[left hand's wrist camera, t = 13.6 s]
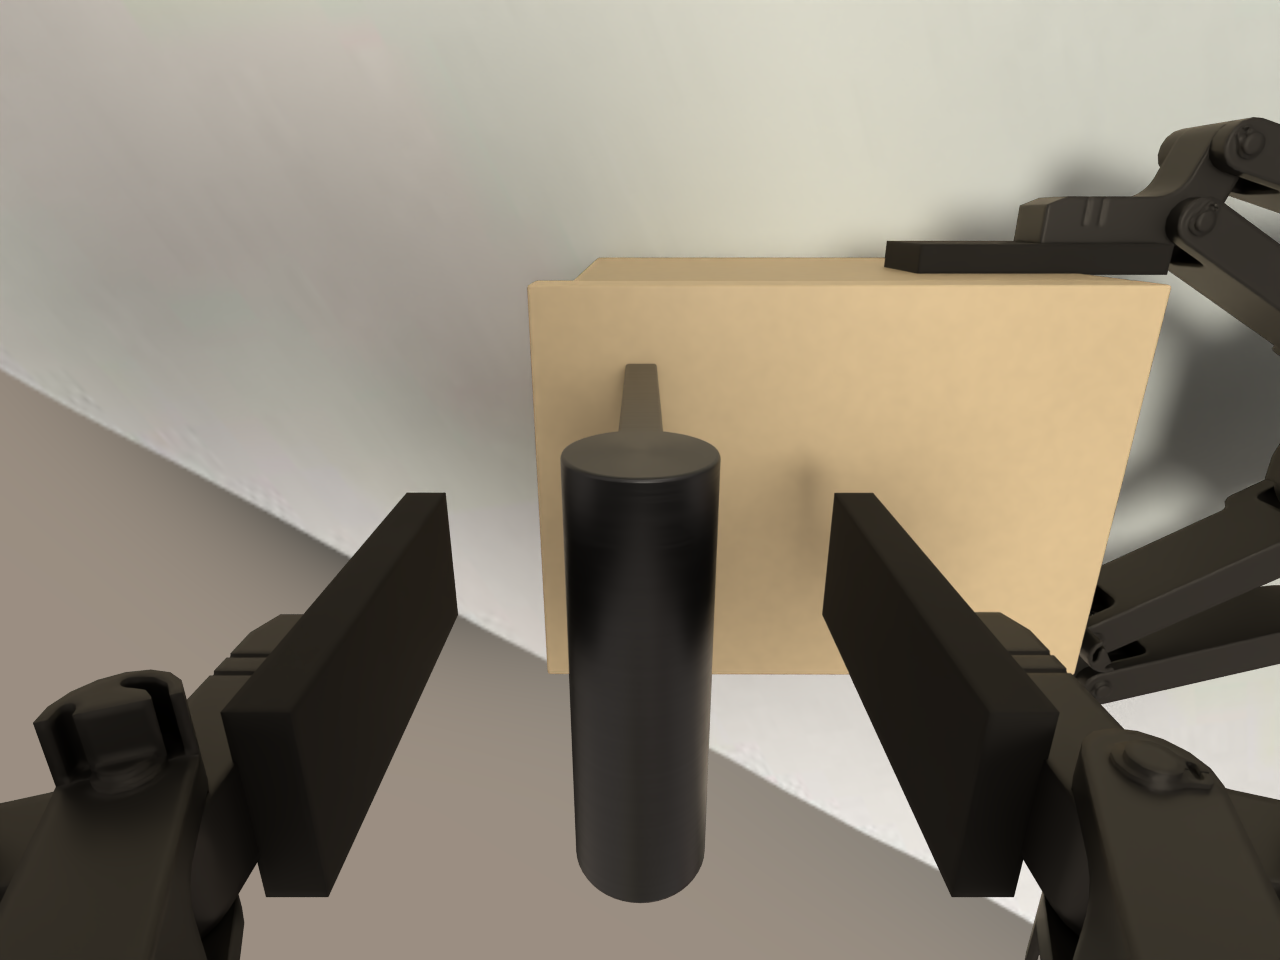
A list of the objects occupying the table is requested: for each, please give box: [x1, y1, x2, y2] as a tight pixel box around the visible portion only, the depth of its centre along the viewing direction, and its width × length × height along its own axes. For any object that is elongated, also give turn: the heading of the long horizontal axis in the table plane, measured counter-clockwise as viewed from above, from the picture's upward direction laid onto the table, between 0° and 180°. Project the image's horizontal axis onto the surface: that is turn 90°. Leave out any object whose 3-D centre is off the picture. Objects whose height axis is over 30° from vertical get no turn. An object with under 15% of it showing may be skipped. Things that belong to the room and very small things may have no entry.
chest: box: [574, 258, 1130, 281], centre depth 23 cm, size 13×10×10 cm
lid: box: [527, 281, 1171, 903], centre depth 14 cm, size 14×10×9 cm
